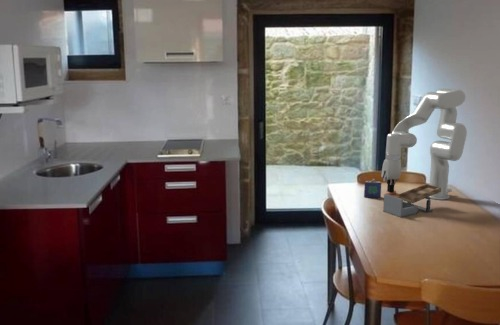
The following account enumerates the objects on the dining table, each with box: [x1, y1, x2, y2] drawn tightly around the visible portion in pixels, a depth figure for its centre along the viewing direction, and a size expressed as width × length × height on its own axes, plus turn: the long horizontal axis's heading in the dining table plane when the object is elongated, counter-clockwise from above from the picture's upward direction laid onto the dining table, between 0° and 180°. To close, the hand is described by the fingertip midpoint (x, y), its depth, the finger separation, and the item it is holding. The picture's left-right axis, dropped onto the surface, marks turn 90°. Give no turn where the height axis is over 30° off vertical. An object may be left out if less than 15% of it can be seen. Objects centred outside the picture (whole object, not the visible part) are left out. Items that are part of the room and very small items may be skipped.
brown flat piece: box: [384, 183, 441, 204], centre depth 272 cm, size 21×21×3 cm
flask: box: [363, 178, 382, 199], centre depth 290 cm, size 9×3×11 cm, turn 87°
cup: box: [382, 193, 419, 218], centre depth 263 cm, size 12×12×9 cm
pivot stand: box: [406, 199, 433, 214], centre depth 270 cm, size 4×15×6 cm, turn 31°
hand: (390, 191), depth 274 cm, fingers closed
